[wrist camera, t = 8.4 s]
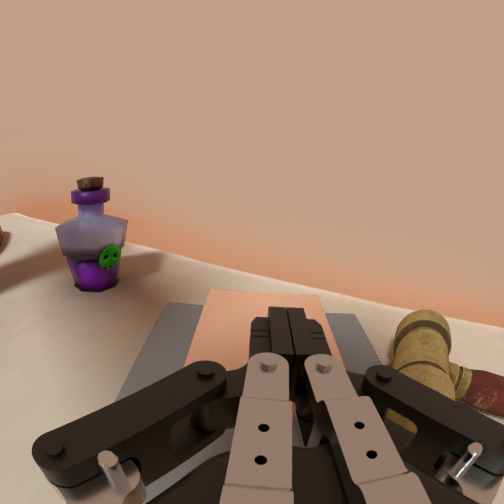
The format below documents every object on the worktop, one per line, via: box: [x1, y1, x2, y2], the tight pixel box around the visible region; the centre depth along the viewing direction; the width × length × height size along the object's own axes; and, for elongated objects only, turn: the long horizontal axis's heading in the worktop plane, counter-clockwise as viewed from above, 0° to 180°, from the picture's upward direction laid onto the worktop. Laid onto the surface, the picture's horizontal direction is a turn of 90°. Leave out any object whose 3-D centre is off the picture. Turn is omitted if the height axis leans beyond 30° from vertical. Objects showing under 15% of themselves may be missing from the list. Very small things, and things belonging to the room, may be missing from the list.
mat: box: [115, 302, 382, 503], centre depth 20 cm, size 18×20×1 cm
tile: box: [184, 289, 346, 421], centre depth 22 cm, size 10×2×14 cm
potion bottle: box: [55, 177, 128, 292], centre depth 31 cm, size 9×9×12 cm
